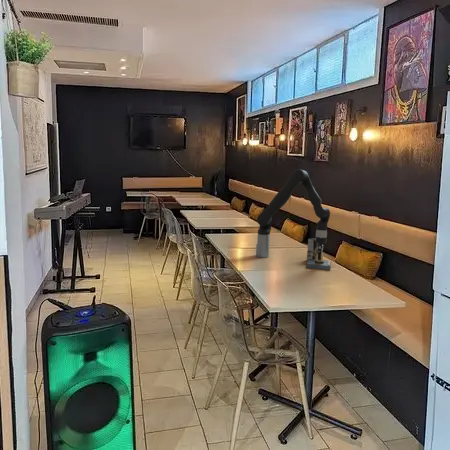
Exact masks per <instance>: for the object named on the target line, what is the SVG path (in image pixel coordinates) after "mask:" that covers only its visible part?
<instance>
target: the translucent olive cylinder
mask: <svg viewBox="0 0 450 450" xmlns="http://www.w3.org/2000/svg"><path fill="white" fill-rule="evenodd" d="M323 260H324V254H323V253H322V255H321V260H318V253H317V257H316V263H321V264H322V262H323Z"/></svg>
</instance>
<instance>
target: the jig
mask: <svg viewBox="0 0 450 450" xmlns="http://www.w3.org/2000/svg"><path fill="white" fill-rule="evenodd" d="M331 266H332V260H329V259H328V260H324V259H323V262H322V264H321V263H316V259H308V260H307V263H306V269H313V270H323V271H331V268H332V267H331Z"/></svg>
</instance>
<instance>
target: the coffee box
mask: <svg viewBox="0 0 450 450" xmlns="http://www.w3.org/2000/svg"><path fill="white" fill-rule="evenodd" d="M315 240H316V237H313V238H308V240H307V252H306V260H307V261H308V259H316V257H317V253H318V252H317V250H318V248H317V247H318V245H319V243H316V242H315Z"/></svg>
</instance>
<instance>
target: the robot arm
mask: <svg viewBox="0 0 450 450" xmlns="http://www.w3.org/2000/svg"><path fill="white" fill-rule="evenodd" d="M299 184H301V186H303V189H304V190H305V193H306V196H307V198H308V200H309V203H310V204H311V206H312V207H313V211H314V214H315V216H316V217H317V218H319V221H317V223H316V231H315V238H316V240H315V242H316V243H319V245H318V247H317V248H318V250H317V252H318V260H321V255H322V254H323V251H324V244H327V240H328V239H327V236H328V223H329V220H330V217H331V210H330V209H329V208H328V207H323V206H322V205H323V201H322V199H321V197H320V196H319V194H318V192H317V191H316V190H315V187H314V186H313V184H312V180H311V179H310V176H309V174H308V171H306V170H304V169H301V168H298V169H295V170H294V171H293V172H292V173H291V175H290V176H289V178H288V180H287V181H286V183H285V184H284V185H283V186H282V187H281V189H279V190H278V192H277V193H276V194H275V196H274V197H273V198H272V199H271V201H270V202H269V203H268V205H267V206H266V208H265V209H264V210H263V211H262V212H260V213H259V214H258V216H257V219H256V221H257V224H258V225H259V227H258V229H257V242H256V249H255V257H257V258H269V256H270V240H271V239H270V238H271V237H270V236H271V231H272V221H273V218H272V217H273V215H275V213H277V212H278V211H279V210H280V209H281V208H283V206H285V205H286V203H287V202H288V201H289V200H290V198H291V196H292V193H293V191H294V189H295V188H296V187H297V186H298V185H299Z"/></svg>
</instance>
